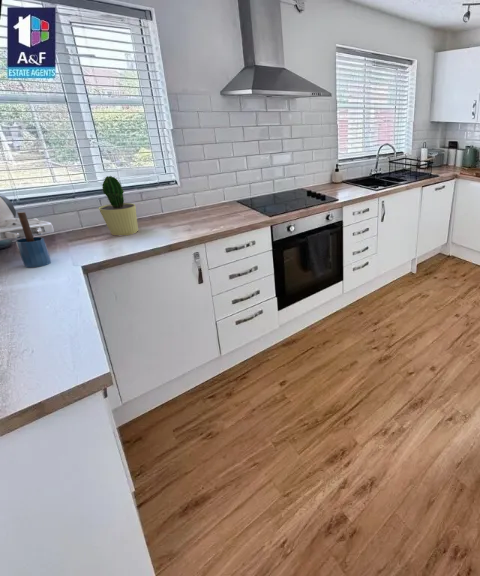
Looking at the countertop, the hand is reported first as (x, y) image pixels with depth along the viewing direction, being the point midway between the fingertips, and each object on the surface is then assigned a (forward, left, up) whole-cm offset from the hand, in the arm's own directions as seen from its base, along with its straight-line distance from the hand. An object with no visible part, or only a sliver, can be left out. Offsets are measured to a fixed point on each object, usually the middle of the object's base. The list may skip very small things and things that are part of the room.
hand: (29, 234), depth 141 cm
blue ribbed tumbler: (0, +1, -12) cm, 12 cm away
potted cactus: (+29, +39, -12) cm, 50 cm away
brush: (0, +1, -12) cm, 12 cm away
